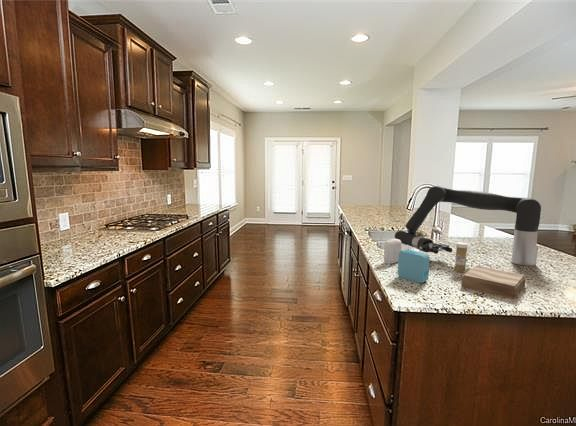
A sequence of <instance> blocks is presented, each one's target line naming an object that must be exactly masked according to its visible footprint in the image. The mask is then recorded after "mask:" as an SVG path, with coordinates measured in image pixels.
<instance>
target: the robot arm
mask: <svg viewBox="0 0 576 426" xmlns="http://www.w3.org/2000/svg"><path fill="white" fill-rule="evenodd" d="M439 203H451V204H457V205H460V206H464V207H467V208H471V209H476V210H477V209H478V210H483V211H484V210H485V211H486V210H487V211H505V212H510V213H515V214H516V218H515V224H514V230H513V231H514V233H513V242H512V251H511V252H512V253H511V263H512V264H514V265H520V266H526V267H527V266H528V267H529V266H530V267H531V266H532V267H533V266H535V265H536V266H537V261H538V260H537V259H538V251H539V246H538V245H537V241H538V235H539V234H538V231H539V227H540V220H541V216H542V215H541V213H542V205H541V204H540V202H539V201H538V200H536V199H535V198H533V197H517V196H505V195H500V194H497V193H492V192H485V191H478V190H463V189H462V190H460V189H459V190H458V189H452V188H447V187H444V186H440V185H434V186H431V187H430V188H428V190H427V192H426V194H425V197H424V198H423V200H422V202H421V204H420V205H419V207H418V208H417V209H416V210H415V212H414V213H413V214H412V216H411V217H410V218H409V219H408V221H407V222H406V224H405V228H406V229H407V230H408V231H405V230H398V231H395V234H394V239H399V240H400V241H401V243H402V245H405V246H409V247H412V248H414V249H416V250H419V251H421V252H425V253H433V254H435V255H437V254H439V252H442V251H445V252H448V253H453V248H452V247H450V245H448V244H445V243H441V242H440V243H436V242H434V241H433V239H431V238H428V237H424V236H420V235H417V232H418V230H419V229H420V227H421V226H422V224H423V223H424V222H425V220H426V218H427V217H428V215H429V213H430V212H431V211H432V210H433V208H434V207H436V205H438V204H439Z"/></svg>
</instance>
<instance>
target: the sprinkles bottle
mask: <svg viewBox="0 0 576 426" xmlns="http://www.w3.org/2000/svg"><path fill="white" fill-rule="evenodd" d="M468 247H469V245H468V243H467V242H462V241H461V242H459V241H458V242H456V247H455V248H456V250H455V252H456V253H455V262H454V265H455V266H454V271H456V272H459V273H464V272H465V273H466V265H467V252H468V251H467V250H468Z"/></svg>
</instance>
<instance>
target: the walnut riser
mask: <svg viewBox="0 0 576 426" xmlns="http://www.w3.org/2000/svg"><path fill="white" fill-rule="evenodd" d="M525 285H526V275H524V274H522V273H521V274H520V273H515V272H510V271H506V270H500V269H495V268H490V267H485V266H480V265H476V266H474V267H472V269H470V270H468V271H466V272H465V273H464V274H463V275H462V276H461V285H460V286H461V288H462V287H463V288H466V289H470V290H474V291H478V292H481V293H482V292H483V293H486V294H490V295H494V296H499V297H501V298H502V297H503V298H506V299H510V300H514V301H515V300H516V298H517V297H518V296H519V295H520V294H521V292H522V291H523V289H524V288H525Z"/></svg>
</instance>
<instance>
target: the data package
mask: <svg viewBox="0 0 576 426" xmlns="http://www.w3.org/2000/svg"><path fill="white" fill-rule="evenodd" d="M429 270H430V256H429V254H427V253H422V252H419V251H414V250H409V249H405V250H401V252H399V256H398V262H397V276H398V277H399V278H400V279H401V278H402V279H406V280H408V281H411V282H415V283H419V284H423V283H425V282H427V281H428V280H429V274H430V271H429Z"/></svg>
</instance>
